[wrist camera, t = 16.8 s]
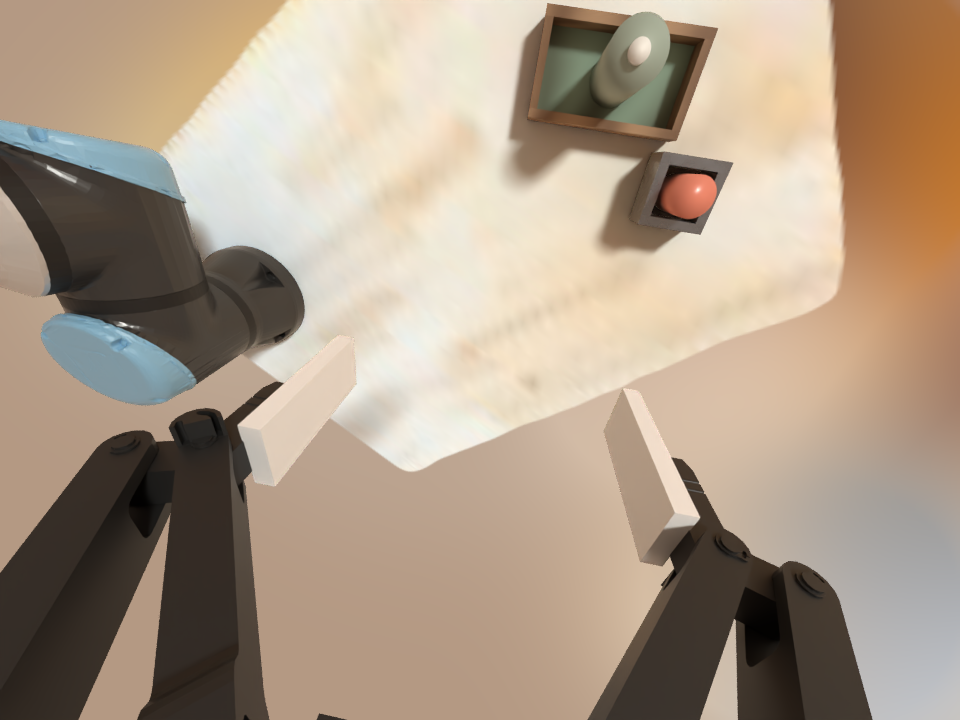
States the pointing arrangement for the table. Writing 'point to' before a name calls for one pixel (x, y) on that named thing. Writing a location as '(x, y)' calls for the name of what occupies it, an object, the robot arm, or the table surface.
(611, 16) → the wooden tray
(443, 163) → the table surface
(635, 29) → the cell
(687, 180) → the coral capsule
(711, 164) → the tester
